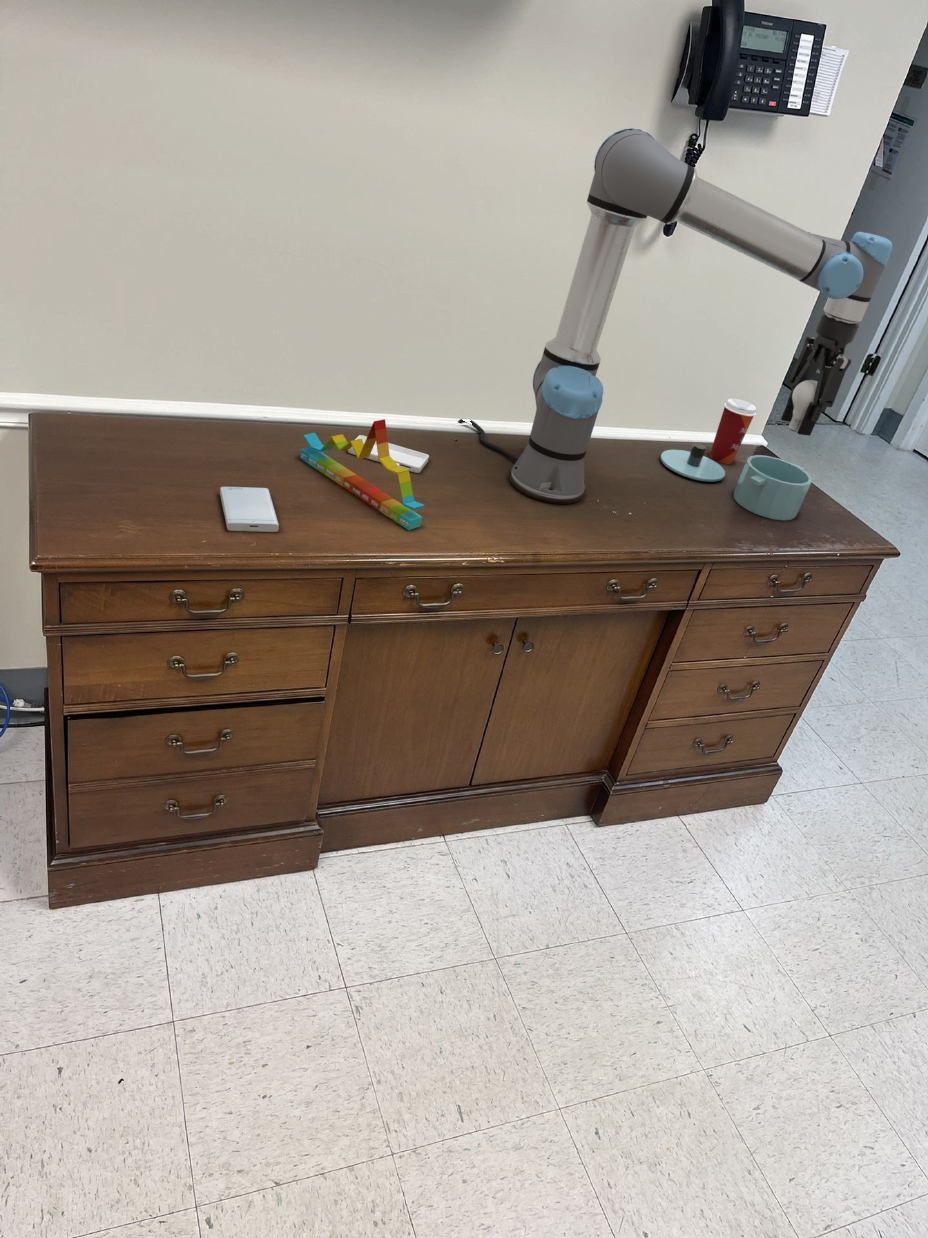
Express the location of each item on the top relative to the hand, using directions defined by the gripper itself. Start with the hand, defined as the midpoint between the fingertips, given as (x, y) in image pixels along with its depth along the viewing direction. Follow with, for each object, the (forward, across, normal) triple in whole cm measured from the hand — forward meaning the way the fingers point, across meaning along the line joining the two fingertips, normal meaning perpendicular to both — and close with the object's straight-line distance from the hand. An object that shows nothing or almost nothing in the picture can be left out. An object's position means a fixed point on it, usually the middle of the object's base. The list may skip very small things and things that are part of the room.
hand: (795, 427), depth 192 cm
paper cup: (+19, +24, -1) cm, 30 cm away
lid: (+18, +16, +11) cm, 26 cm away
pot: (+18, 0, -1) cm, 18 cm away
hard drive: (+18, -22, +111) cm, 115 cm away
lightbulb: (+1, 0, 0) cm, 1 cm away
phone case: (+18, +6, +84) cm, 86 cm away
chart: (+18, -10, +92) cm, 94 cm away
